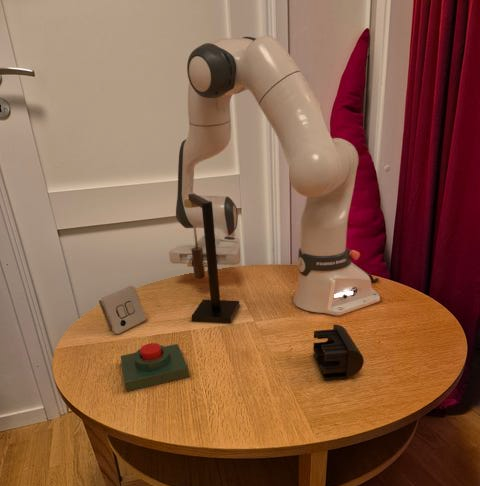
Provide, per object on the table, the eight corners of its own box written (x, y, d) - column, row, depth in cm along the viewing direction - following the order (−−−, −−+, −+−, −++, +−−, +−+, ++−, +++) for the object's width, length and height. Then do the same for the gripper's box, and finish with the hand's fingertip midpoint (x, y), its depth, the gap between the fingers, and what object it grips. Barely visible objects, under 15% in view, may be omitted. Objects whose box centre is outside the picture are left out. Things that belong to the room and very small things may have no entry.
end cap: (362, 379, 76) (365, 348, 73) (324, 382, 76) (326, 351, 73) (346, 351, 85) (348, 322, 82) (312, 354, 85) (313, 325, 82)
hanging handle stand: (245, 295, 114) (239, 191, 101) (230, 323, 99) (222, 206, 86) (197, 293, 117) (186, 192, 104) (176, 320, 102) (160, 207, 89)
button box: (178, 352, 88) (176, 336, 86) (188, 377, 80) (186, 360, 78) (122, 364, 85) (118, 348, 83) (126, 391, 77) (122, 374, 75)
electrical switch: (116, 336, 96) (106, 299, 93) (104, 332, 99) (93, 296, 96) (147, 320, 103) (139, 286, 99) (134, 317, 106) (126, 283, 102)
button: (160, 348, 83) (159, 341, 82) (163, 358, 80) (162, 350, 79) (140, 352, 82) (139, 345, 81) (142, 363, 79) (141, 355, 78)
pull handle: (206, 275, 113) (201, 223, 106) (203, 279, 110) (198, 226, 103) (196, 274, 113) (190, 223, 107) (192, 278, 111) (187, 226, 104)
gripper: (177, 237, 122) (159, 252, 110) (244, 238, 117) (233, 253, 106) (179, 257, 125) (162, 274, 113) (245, 259, 120) (234, 276, 108)
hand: (197, 264), depth 109 cm, fingers closed on pull handle, 3 cm apart
